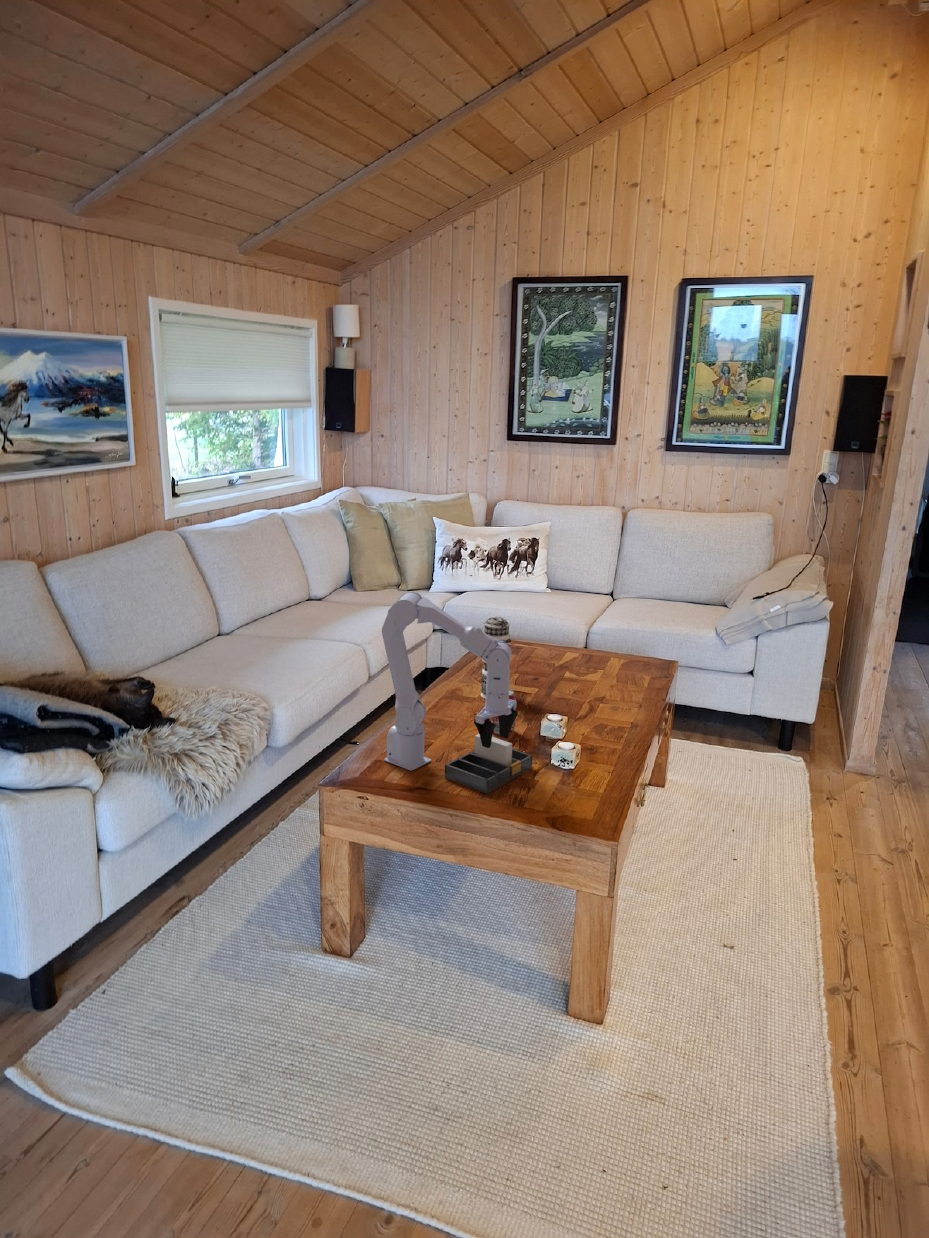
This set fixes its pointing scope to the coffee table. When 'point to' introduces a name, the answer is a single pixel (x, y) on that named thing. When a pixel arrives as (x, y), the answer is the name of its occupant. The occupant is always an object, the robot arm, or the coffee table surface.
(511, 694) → the soda can
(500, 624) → the decorative candle
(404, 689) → the robot arm
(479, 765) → the rack
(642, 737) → the coffee table surface
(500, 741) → the panel
